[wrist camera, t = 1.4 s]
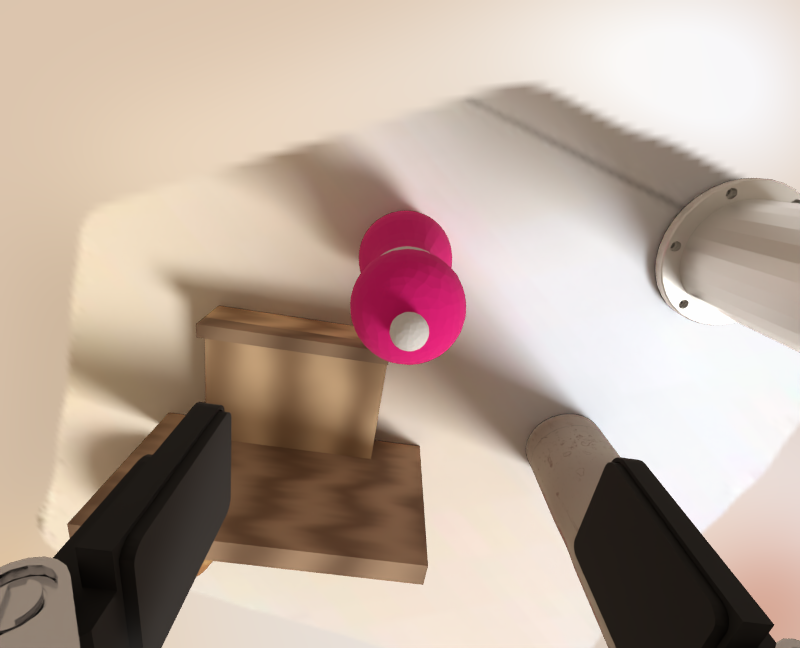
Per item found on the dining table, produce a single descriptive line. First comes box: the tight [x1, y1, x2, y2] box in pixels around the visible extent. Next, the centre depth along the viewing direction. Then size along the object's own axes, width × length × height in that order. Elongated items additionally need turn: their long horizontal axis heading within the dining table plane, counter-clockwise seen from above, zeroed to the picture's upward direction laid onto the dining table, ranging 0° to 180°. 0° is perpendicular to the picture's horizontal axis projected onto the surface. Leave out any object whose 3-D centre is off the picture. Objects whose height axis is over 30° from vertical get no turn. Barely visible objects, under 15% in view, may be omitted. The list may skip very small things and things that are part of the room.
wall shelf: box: [67, 306, 428, 585], centre depth 35 cm, size 26×14×14 cm, turn 81°
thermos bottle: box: [526, 414, 620, 648], centre depth 31 cm, size 8×8×28 cm
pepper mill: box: [350, 211, 466, 365], centre depth 27 cm, size 7×7×20 cm
